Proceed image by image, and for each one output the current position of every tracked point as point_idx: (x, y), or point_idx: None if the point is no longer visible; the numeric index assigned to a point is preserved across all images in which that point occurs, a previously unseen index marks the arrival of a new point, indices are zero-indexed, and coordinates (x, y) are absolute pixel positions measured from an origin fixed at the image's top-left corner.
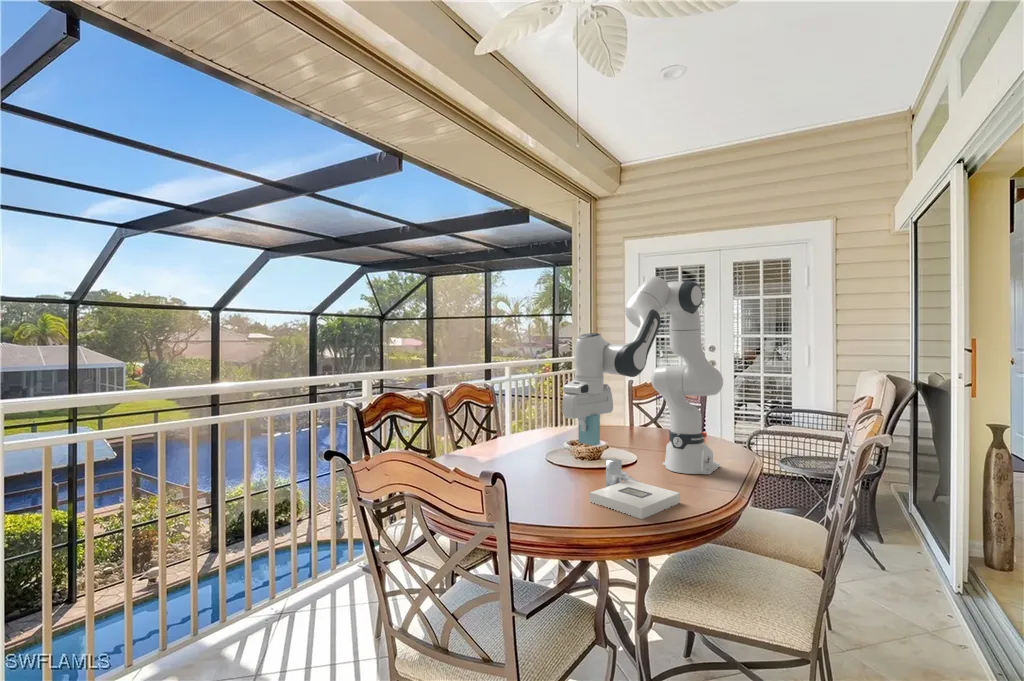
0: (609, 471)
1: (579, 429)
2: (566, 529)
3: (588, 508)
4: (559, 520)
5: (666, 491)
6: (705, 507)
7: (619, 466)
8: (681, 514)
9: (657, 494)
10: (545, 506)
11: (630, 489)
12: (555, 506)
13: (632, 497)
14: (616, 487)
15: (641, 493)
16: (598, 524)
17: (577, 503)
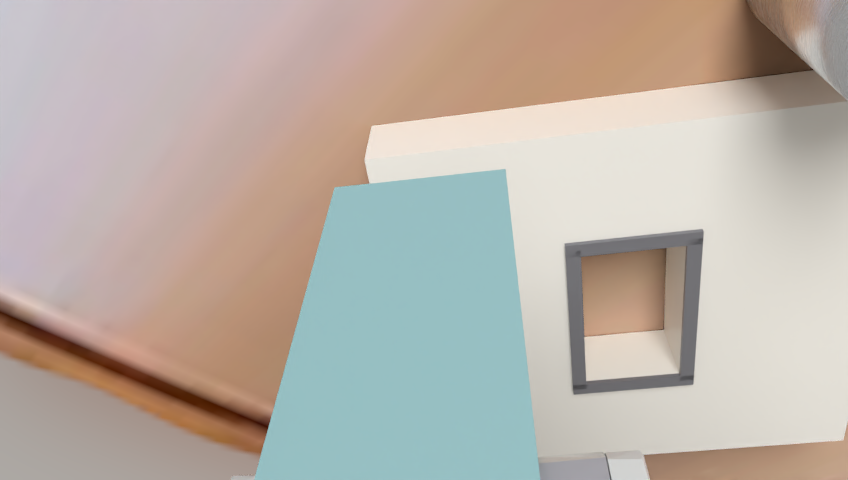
0: (806, 34)
1: (300, 365)
2: (11, 339)
3: (288, 199)
4: (21, 246)
5: (813, 393)
6: (841, 477)
7: None
8: (651, 471)
9: (712, 397)
10: (21, 17)
11: (684, 251)
12: (94, 57)
13: (535, 361)
14: (631, 182)
15: (678, 321)
16: (198, 370)
17: (277, 94)
